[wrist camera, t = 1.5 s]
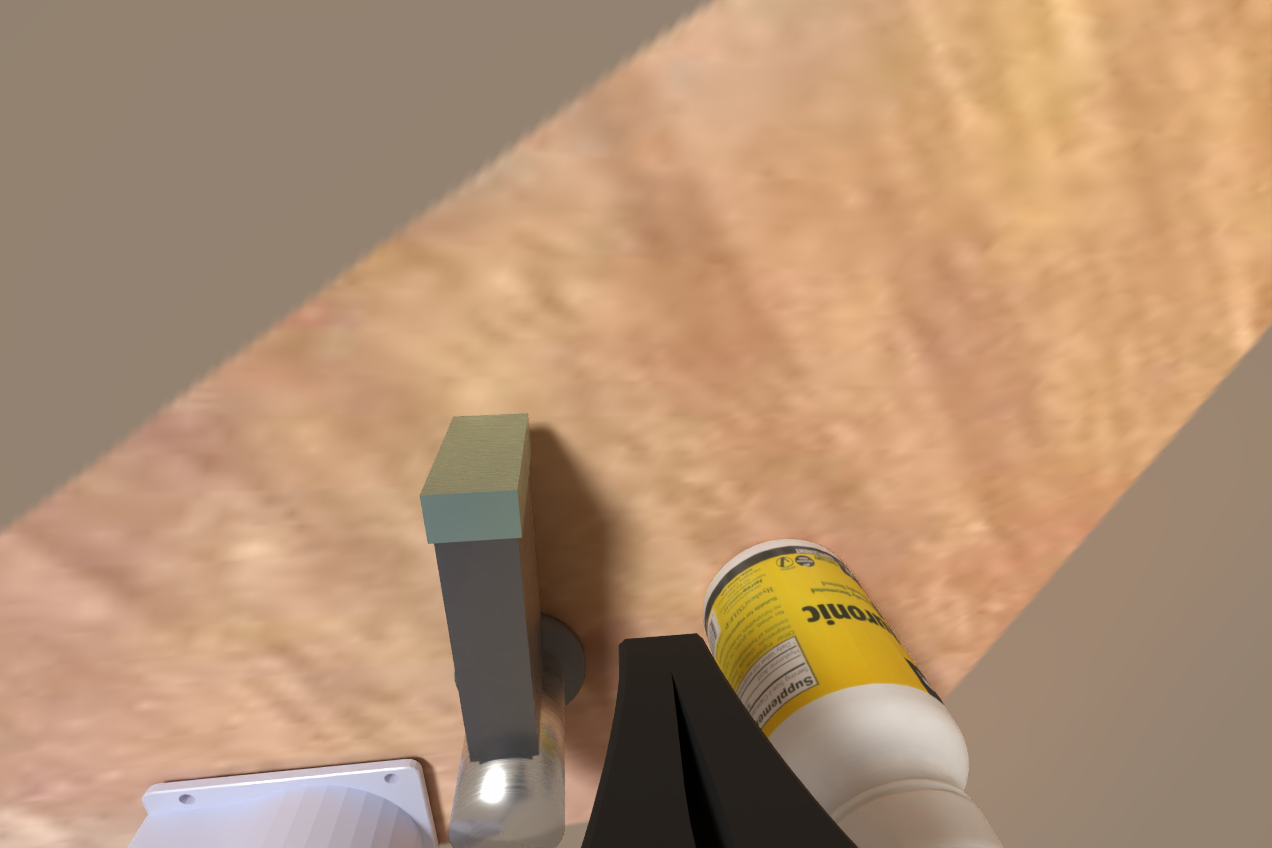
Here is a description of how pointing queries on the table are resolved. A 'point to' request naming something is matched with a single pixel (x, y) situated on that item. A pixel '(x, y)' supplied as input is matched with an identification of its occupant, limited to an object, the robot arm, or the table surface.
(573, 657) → the pivot base
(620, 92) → the table surface
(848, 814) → the supplement bottle
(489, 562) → the swing bar
